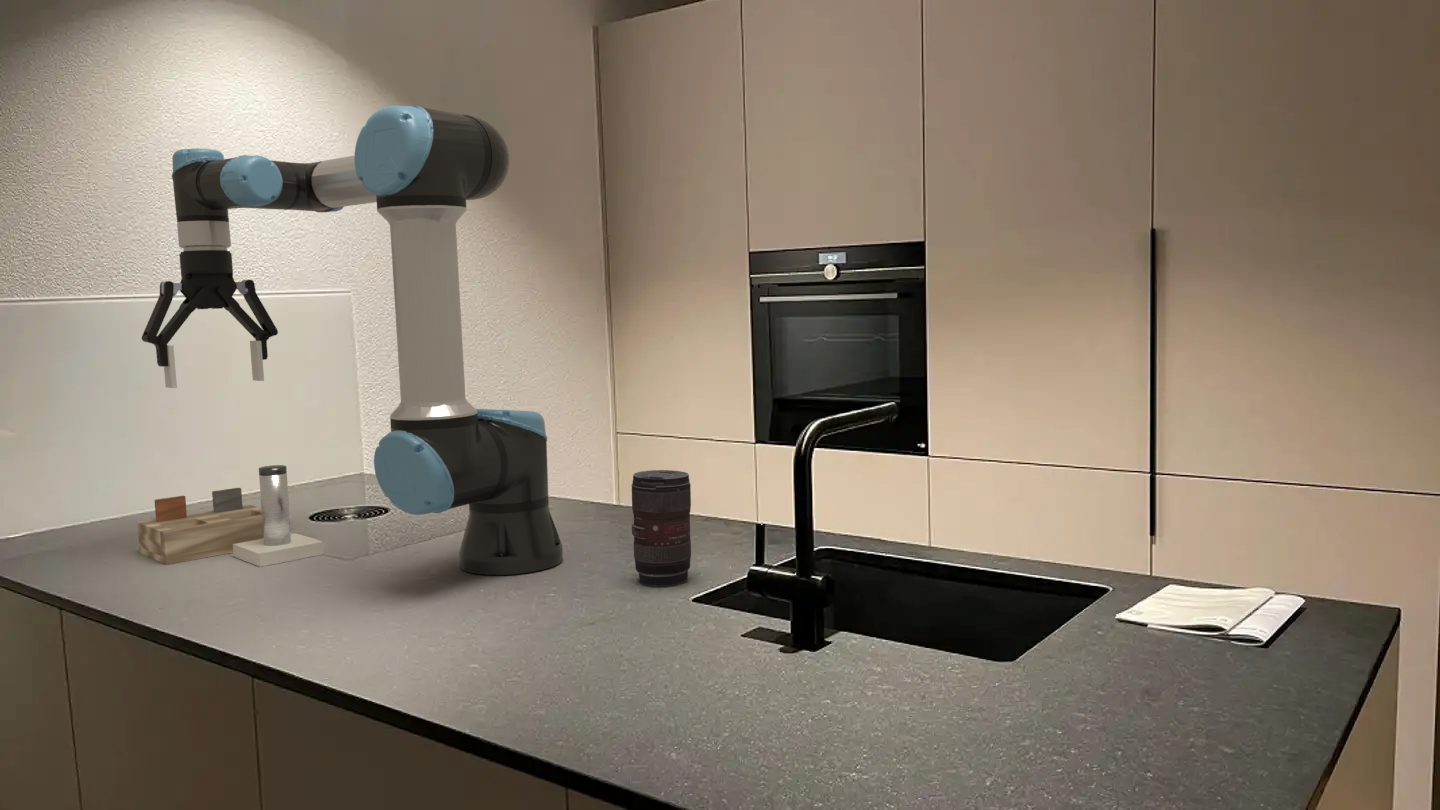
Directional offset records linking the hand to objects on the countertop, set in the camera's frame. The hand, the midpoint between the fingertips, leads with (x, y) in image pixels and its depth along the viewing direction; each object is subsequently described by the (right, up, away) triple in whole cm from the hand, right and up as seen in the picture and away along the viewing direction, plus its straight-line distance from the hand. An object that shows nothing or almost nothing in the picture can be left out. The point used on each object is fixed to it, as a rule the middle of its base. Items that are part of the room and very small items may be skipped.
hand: (216, 384), depth 179 cm
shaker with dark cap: (+11, -25, -4) cm, 28 cm away
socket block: (-2, -27, +3) cm, 27 cm away
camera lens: (+73, -28, -24) cm, 82 cm away
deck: (+11, -27, -3) cm, 29 cm away
